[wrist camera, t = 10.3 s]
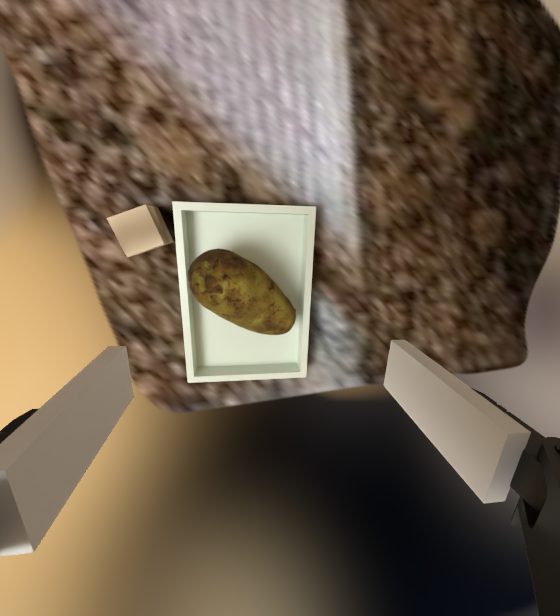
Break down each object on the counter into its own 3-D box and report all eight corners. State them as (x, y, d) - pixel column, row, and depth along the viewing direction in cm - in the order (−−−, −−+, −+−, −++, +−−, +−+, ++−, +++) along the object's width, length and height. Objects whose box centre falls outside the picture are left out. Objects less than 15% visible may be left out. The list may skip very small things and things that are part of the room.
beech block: (124, 219, 30) (106, 218, 26) (158, 207, 30) (145, 204, 26) (141, 253, 31) (127, 257, 27) (174, 241, 31) (164, 244, 28)
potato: (245, 347, 35) (245, 380, 28) (185, 263, 31) (166, 275, 24) (298, 314, 35) (313, 339, 28) (245, 226, 31) (245, 226, 24)
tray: (179, 203, 30) (172, 201, 27) (309, 208, 32) (316, 206, 29) (192, 370, 36) (187, 382, 33) (301, 365, 38) (306, 377, 35)
